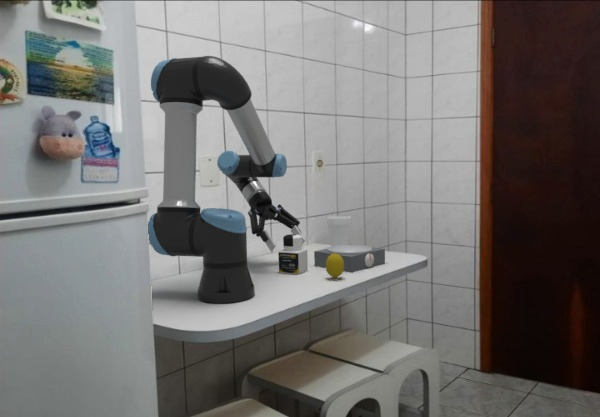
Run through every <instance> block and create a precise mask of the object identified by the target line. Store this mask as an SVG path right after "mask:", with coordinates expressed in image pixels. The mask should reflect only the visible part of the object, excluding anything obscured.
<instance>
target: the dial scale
mask: <svg viewBox="0 0 600 417" xmlns="http://www.w3.org/2000/svg"><path fill="white" fill-rule="evenodd" d="M333 253H336V254H338V255H340V256H341V257H342V258H343V261H344V271H343V272H347V273H348V272H349V273H354V272H359V271H361V270H365V269H369V267H370V268H372V267H376V266H380V265H385V264H386V249H385V248H380V247H373V246H369V245H365V244H364V245H363V244H362V245H361V244H350V243H349V244H348V245H337V246H331V245H330V246H329V247H327V248H323V249H318V250H314V252H313V255H314V267H320V268H325V269H326V261H327V258H328V257H329V256H330V255H331V254H333ZM384 263H385V264H384Z"/></svg>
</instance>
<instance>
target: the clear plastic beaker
mask: <svg viewBox="0 0 600 417" xmlns="http://www.w3.org/2000/svg"><path fill="white" fill-rule="evenodd" d="M326 223H327V227H328V228H327V229H328V234H329V241H330V242H329V243H330V247H331V246H337V245H348V244H350V236H351V235H350V234H351V227H352V226H351V225H352V216H349V215H347V216H346V215H345V216H344V215H333V216H327V218H326Z"/></svg>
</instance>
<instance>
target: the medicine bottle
mask: <svg viewBox="0 0 600 417" xmlns="http://www.w3.org/2000/svg"><path fill="white" fill-rule="evenodd" d="M282 239H283V242H282V243H283V245H282V246H283V248H284V249H281V250H279V251H278V253H277V254H278V273H279V274H288V275H300V274H302V273H304V272H307V271H308V266H309V263H308V262H309V261H308V260H309V258H308V248H303V245H302V236H300V235H297V234H292V233H291V234H290V233H289V234H286V235H284V236H283V237H282Z"/></svg>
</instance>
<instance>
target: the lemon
mask: <svg viewBox="0 0 600 417" xmlns="http://www.w3.org/2000/svg"><path fill="white" fill-rule="evenodd" d="M325 270H326V272H327V274H328V275H329V276H330V277H332V279H334V280H336V279H338V277H340V276H341V275H342V274H343V273H344V272H345V271H344V261H343V258H342V257H341V256H340V255H338V254H336V253H333V254H331V255H330V256H329V257H328V258H327V261H326V268H325Z"/></svg>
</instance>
